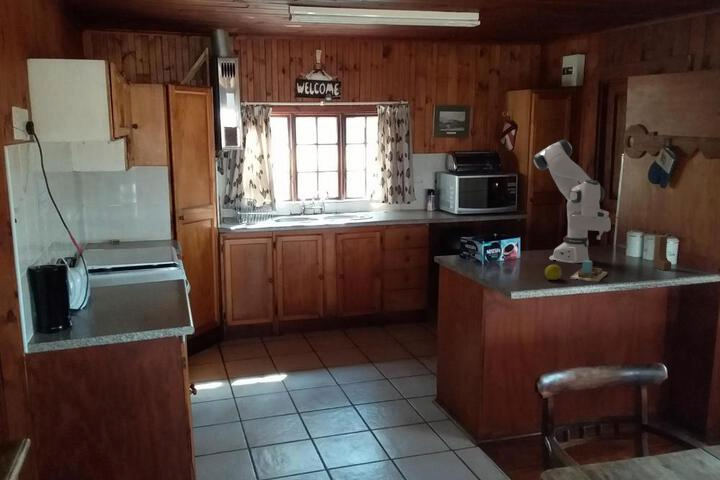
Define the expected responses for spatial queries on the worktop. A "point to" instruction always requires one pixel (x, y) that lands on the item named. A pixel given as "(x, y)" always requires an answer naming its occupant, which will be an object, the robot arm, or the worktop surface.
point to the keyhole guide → (590, 275)
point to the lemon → (553, 272)
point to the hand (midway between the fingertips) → (588, 238)
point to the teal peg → (587, 267)
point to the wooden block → (661, 253)
